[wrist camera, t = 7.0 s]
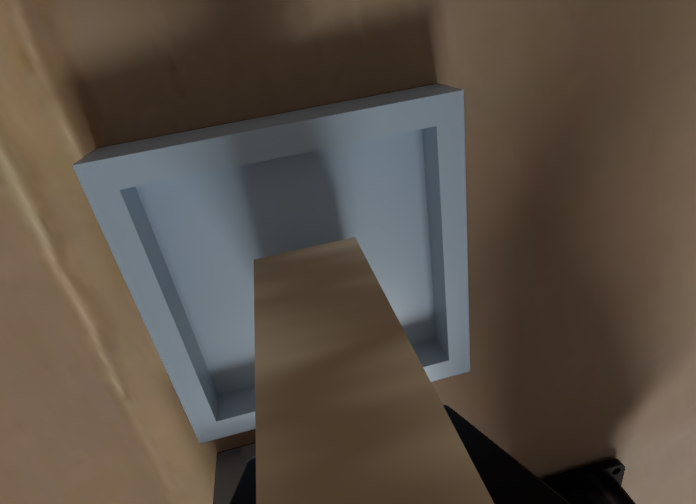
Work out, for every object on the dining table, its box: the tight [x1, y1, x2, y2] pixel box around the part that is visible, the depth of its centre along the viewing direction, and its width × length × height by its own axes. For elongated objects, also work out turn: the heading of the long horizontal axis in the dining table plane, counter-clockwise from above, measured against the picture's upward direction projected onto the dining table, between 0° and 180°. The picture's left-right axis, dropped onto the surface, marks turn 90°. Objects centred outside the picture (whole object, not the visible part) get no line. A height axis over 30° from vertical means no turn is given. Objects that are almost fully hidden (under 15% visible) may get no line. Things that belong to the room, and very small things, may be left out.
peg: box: [254, 237, 494, 504], centre depth 9 cm, size 3×3×10 cm
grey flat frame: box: [72, 84, 470, 443], centre depth 14 cm, size 10×10×2 cm
